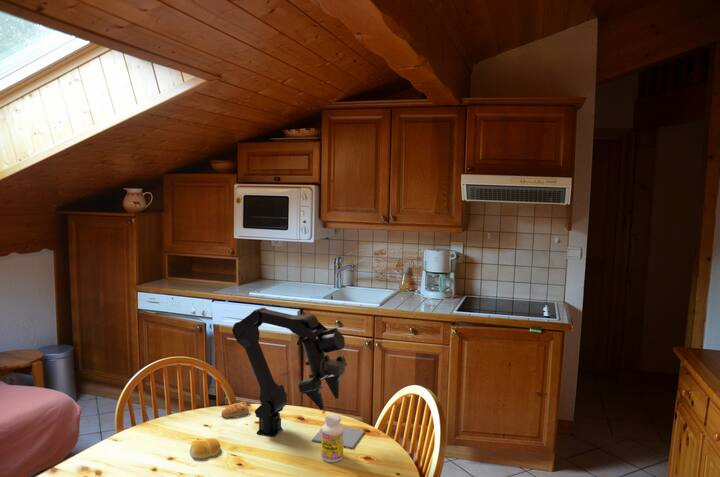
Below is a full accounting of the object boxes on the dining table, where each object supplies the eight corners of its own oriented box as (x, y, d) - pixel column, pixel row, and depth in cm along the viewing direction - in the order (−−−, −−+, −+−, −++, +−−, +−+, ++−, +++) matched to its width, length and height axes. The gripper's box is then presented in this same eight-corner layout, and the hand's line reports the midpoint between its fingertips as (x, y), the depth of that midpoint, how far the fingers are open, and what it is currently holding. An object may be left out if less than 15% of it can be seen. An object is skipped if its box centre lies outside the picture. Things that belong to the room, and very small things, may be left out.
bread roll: (223, 454, 159) (223, 442, 159) (194, 462, 154) (194, 449, 154) (215, 443, 166) (215, 431, 166) (187, 450, 161) (186, 438, 161)
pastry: (226, 421, 181) (226, 411, 181) (218, 414, 187) (218, 404, 186) (250, 414, 187) (250, 404, 187) (242, 408, 192) (241, 398, 192)
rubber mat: (311, 441, 168) (311, 439, 168) (326, 425, 179) (326, 423, 179) (352, 449, 163) (352, 447, 163) (364, 432, 175) (364, 430, 175)
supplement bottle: (317, 460, 156) (318, 419, 155) (326, 450, 162) (327, 410, 161) (338, 465, 154) (338, 423, 152) (346, 454, 160) (347, 414, 159)
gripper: (320, 359, 151) (336, 411, 150) (351, 342, 167) (365, 389, 166) (291, 365, 156) (305, 416, 155) (323, 349, 173) (336, 394, 172)
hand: (329, 403), depth 162 cm, fingers open, 9 cm apart
